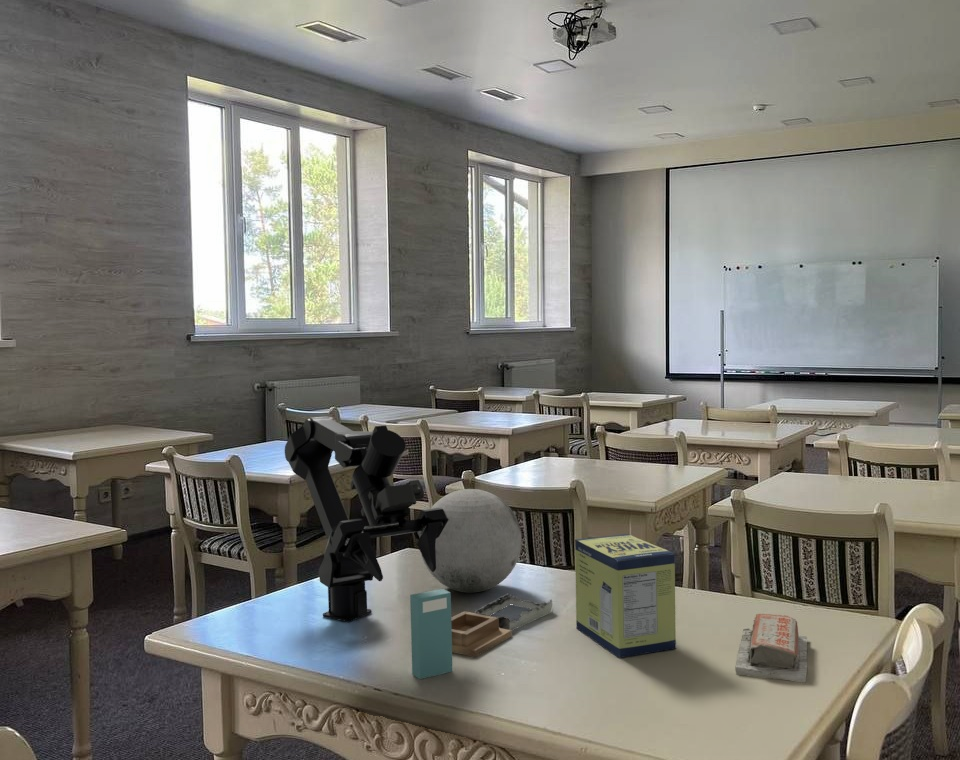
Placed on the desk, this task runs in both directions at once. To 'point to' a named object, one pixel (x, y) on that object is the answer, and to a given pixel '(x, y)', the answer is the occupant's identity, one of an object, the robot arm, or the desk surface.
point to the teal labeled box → (431, 633)
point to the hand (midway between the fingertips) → (408, 575)
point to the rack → (476, 633)
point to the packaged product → (773, 649)
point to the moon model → (476, 541)
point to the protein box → (625, 594)
